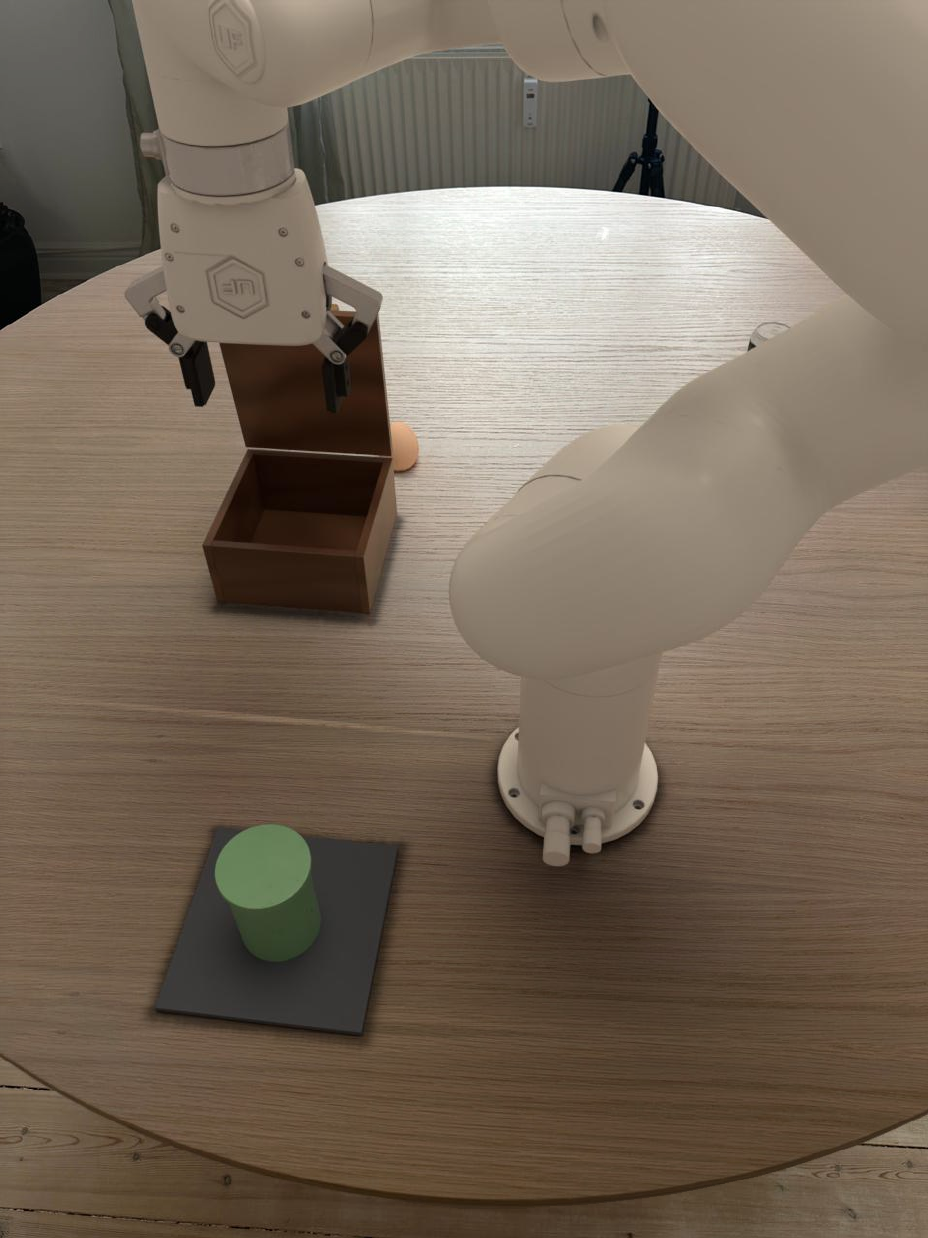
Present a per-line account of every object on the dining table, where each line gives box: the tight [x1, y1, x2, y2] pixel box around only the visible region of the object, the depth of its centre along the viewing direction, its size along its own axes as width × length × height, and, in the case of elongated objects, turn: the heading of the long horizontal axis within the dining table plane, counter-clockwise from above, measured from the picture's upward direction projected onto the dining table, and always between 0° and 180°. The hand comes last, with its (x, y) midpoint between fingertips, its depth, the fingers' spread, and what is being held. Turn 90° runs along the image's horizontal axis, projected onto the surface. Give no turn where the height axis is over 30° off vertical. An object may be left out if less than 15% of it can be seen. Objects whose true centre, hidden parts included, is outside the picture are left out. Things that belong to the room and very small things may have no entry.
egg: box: [378, 421, 420, 472], centre depth 105 cm, size 4×4×6 cm
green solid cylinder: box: [215, 823, 321, 962], centre depth 66 cm, size 6×6×8 cm
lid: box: [218, 303, 393, 457], centre depth 91 cm, size 15×15×5 cm
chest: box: [202, 448, 398, 615], centre depth 94 cm, size 15×15×8 cm
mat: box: [154, 827, 399, 1036], centre depth 70 cm, size 14×14×1 cm
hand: (270, 399), depth 71 cm, fingers open, 9 cm apart
